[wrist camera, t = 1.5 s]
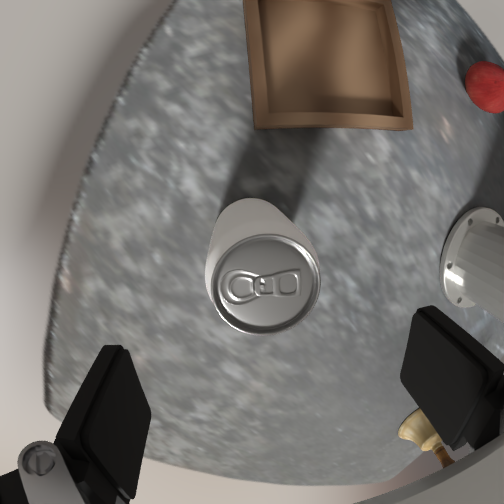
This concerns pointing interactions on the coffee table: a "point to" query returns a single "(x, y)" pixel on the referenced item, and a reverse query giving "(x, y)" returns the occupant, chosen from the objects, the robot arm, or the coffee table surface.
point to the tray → (326, 65)
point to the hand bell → (424, 436)
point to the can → (261, 269)
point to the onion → (486, 86)
